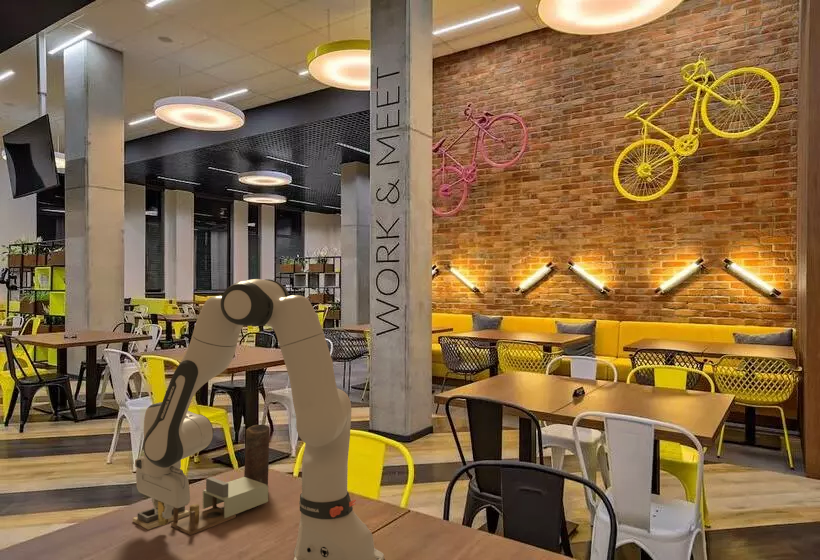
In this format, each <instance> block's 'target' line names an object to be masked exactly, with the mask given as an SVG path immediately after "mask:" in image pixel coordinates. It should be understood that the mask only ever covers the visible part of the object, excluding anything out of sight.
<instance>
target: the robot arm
mask: <svg viewBox="0 0 820 560" xmlns="http://www.w3.org/2000/svg"><path fill="white" fill-rule="evenodd" d="M321 324H322V323H321V322H320V318H319V317H318V315H317V313H316V310H315V309H314V307H313V305H312V303H311V301H310V300H309V299H308V298H307V297H306V296H304V295H300V294H292V295H289V292H288V290H287V289H286V287H285V286H284V285H283V284H282V283H281V282H280V281H279V282H278V281H276V280H274V279H270V278H269V279H267V278H266V279H260V278H253V279H247V280H241V281H240V280H239V281H236V282H235V283H233V284H231V285H230V286H228V287H227V288H226V289H225V290H224V292H223V293H222V295H215V296H212V297H210V298H207V300H205V302H204V303H203V305H202V308H201V310H200V312H199V314H198V317H197V319H196V322H195V325H194V328H193V331H192V335H191V339H190V342H189V344H188V347H187V349H186V351H185V354H184V356H183V358H182V360H180V363H179V364H178V366H177V367H176V369H175V371H174V372H173V375H172V377H171V379H170V380H169V381H170V382H169V384H168V386H167V389H166V391H165V394H164V397H163V399H162V401H159V402H156V403H153V404H151V405H149V406H148V407H146V411H145V414H144V419H143V456H142V457H139V458H136V459H135V460H134V467H135V468H136V471H135V480H136V489H137V492H138V493H140V494H142V495H144V496H147V497H149V498H151V503H152V505H153V508H155V514H156V515H158V501H161V502H163V503H164V506H165V510H164V511H163V512H162V515H163V516H162V517H163V518H165V519H169V518H171V517H172V509H173V507H175V508H180V507H183V506H185V507H186V506H187V505H189V503H190V501H191V492H190V484H189V478H188V476H187V475H186V474H185V473H184V470H183V469H182V465H181V464H182V462H181V461H182V460H183V459H186V458H188V457H190V456H192V455H195V454H196V453H199V452H201V451H203V450H205V449H207V448H208V447H209V446H210V445H211V443H213V442H212V441H213V438H214V428H213V424H212V422H211V421H210V419H208V417H207V416H205V415H203V414H197V413H194V412H192V411H190V410H189V408H190V406H191V402H192V400H193V398H194V397H195V395H196V393H197V392H198V391H199V390H200V389H201V388H202V387H203V386H204V385H205V384H206V383H209V382H210V380H212V379H214V378H215V377H217V376H218V375H221V374H222V373H224V371H226V370H227V368H228V367H229V366H230V364H231V362H232V360H233V359H234V356H235V353H236V349H237V346H238V342H239V338H240V334H241V332H242V329H243V327H244V326H245V327H254V326H255V327H264V326H265V325H268V326H270V327H271V328H272V329H273V331H274V333H275V335H276V338H277V342H278V345H279V348H280V352H281V355H282V358H283V362H284V364H285V368H286V371H287V374H288V378H289V382H290V383H289V384H290V389H291V396H292V404H293V409H294V415H295V420H296V421H295V422H296V423H295V428H296V432H297V435H298V438H300V440H301V441H302V442H303V443H304V444H305V446H304V452H303V457H302V464H301V493H300V495H299V511H300V519H299V524H298V525H299V526H298V531H297V539H296V543H295V549H294V551H293V555H294V558H293V560H384V559H385V555H384V553H383V552H382V551H380V550H378V549H377V548H375V541H374V535H373V532H371V530H370V529H369V527H368V526H367V524H366V523H365V522H363V521H362V520H361V518H360V517H359V516H358V515H357V514H356V512H355V511H354V510H353V508H354V507H353V506H355V505H357V504H356V501H357V500H356V499H353V500H351V497H350V493H349V491H348V473H349V472H348V468H349V467H348V466H349V465H348V463H349V450H350V440H351V425H352V402H351V399H350V397H349V395H348V394H347V393H346V392H345V391H344V390H342V389H341V388H338V386H337V383H336V376H335V370H334V361H333V359H332V355H331V352H330V349H329V348H330V347H329V346H328V343H327V340H326V336H325V333H324V331H323V327H322V325H321Z"/></svg>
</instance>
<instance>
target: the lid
mask: <svg viewBox="0 0 820 560" xmlns="http://www.w3.org/2000/svg"><path fill="white" fill-rule="evenodd" d="M205 480H206V481H205V485H206V486H205V489H203V490H202V509H204V510H205V509H208V508H211V507H213V496H214V497H216V498H217V505H218V504H219V505H220V504H222V503H223V509H224V518H227V517H230V516H232V515H235V514H236V515H238V514H240V513H242V512H245V511H248V510H250V509H252V508H255V507H257V506H260V505H263V504H266V503H268V502H269V485H268V486H267V485H266V484H264V483H261V482H258V481H255V480H252V479H249V478H246V477H244V476H242V477H239V478H237V479H233V480H230V481H223V480H221V479H218V478H215V477H212V476H211V477H207V478H206V479H205Z"/></svg>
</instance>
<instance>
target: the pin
mask: <svg viewBox="0 0 820 560" xmlns="http://www.w3.org/2000/svg"><path fill="white" fill-rule="evenodd" d="M164 510H165V506H164V503H163V502H161V501H158V525H160V526H165V525H169V522H168V519H165V518H163V517H162V516H163V515H162V512H163V511H164Z"/></svg>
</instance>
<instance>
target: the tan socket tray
mask: <svg viewBox="0 0 820 560" xmlns="http://www.w3.org/2000/svg"><path fill="white" fill-rule="evenodd" d="M136 515H137V516H134V517H132V522H133V523H135V524H137V525H139V526H140V527H143V529H147V530H151V529H154V528H156V527H159V526H161V525H158V515H156V514H155V508H154V507H152V508H149V509H147V510H143V511H141V512H140V511H139V512H137V514H136ZM189 516H190V510H187V509H186V506H183V507H180V508H178V520H180V519H183V518H186V517H189ZM173 519H174V507H173V509H172V517H171V518H169V519H168V523H172V522H173Z"/></svg>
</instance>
